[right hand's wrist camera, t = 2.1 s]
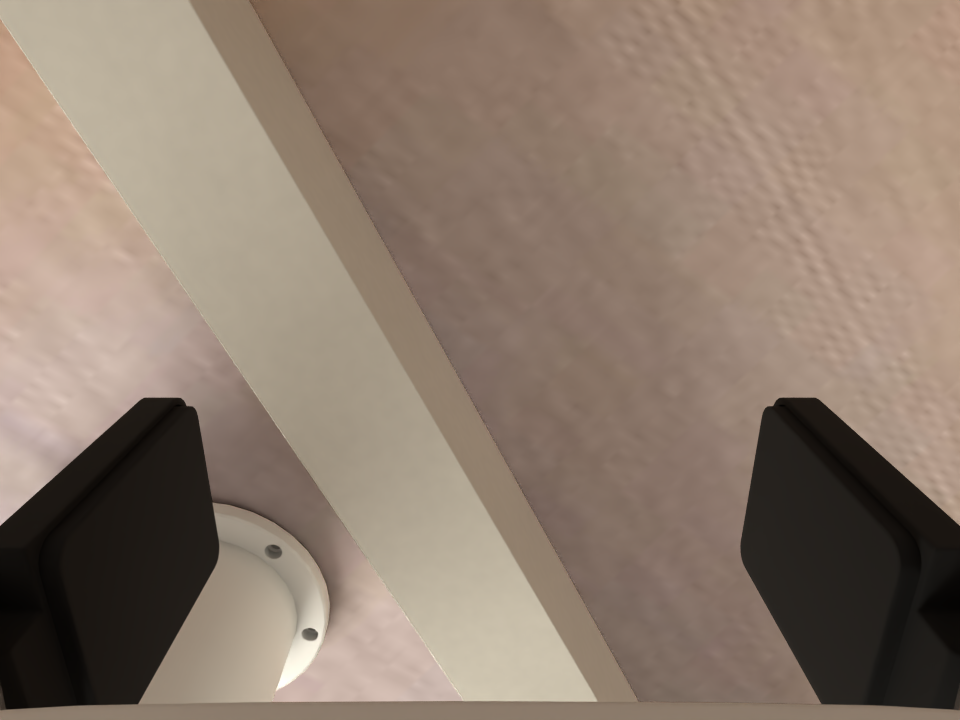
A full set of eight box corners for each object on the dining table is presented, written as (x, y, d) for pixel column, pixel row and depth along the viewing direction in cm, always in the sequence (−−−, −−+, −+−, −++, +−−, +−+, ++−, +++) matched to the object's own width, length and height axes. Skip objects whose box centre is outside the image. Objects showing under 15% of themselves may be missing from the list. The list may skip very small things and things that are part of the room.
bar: (-52, -241, 24) (-277, -389, 17) (68, -327, 23) (-115, -521, 16) (692, 948, 48) (731, 1096, 41) (763, 926, 47) (815, 1073, 40)
